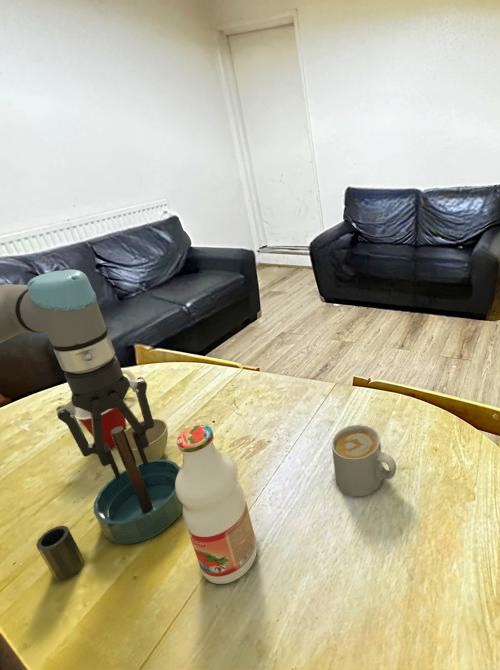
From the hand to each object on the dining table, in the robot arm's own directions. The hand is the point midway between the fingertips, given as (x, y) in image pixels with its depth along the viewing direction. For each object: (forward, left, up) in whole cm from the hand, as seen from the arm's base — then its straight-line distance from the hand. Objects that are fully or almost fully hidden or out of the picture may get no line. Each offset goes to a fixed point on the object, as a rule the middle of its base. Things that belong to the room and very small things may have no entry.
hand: (131, 467), depth 78 cm
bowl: (0, 0, -11) cm, 11 cm away
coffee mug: (+43, +9, -12) cm, 45 cm away
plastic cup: (-21, +19, -12) cm, 31 cm away
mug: (-32, +36, -12) cm, 50 cm away
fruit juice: (+21, -9, -12) cm, 26 cm away
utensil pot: (-7, -12, -11) cm, 18 cm away
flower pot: (-8, +14, -12) cm, 20 cm away
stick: (0, 0, -11) cm, 11 cm away
